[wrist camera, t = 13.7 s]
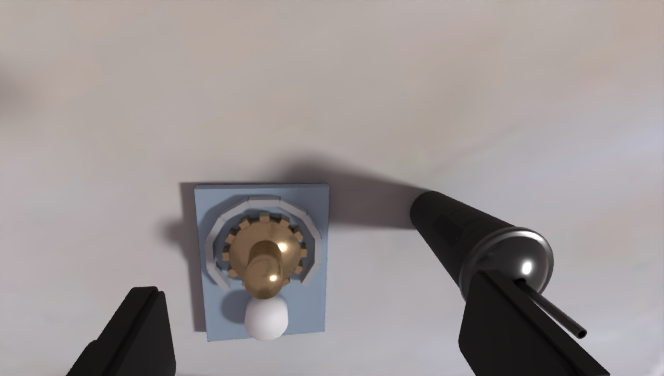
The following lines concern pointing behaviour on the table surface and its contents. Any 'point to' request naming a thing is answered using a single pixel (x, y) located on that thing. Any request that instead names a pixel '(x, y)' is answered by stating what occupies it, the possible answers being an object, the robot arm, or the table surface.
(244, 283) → the bronze gear
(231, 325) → the carrier plate
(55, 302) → the table surface
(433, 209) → the drinking cup
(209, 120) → the table surface
